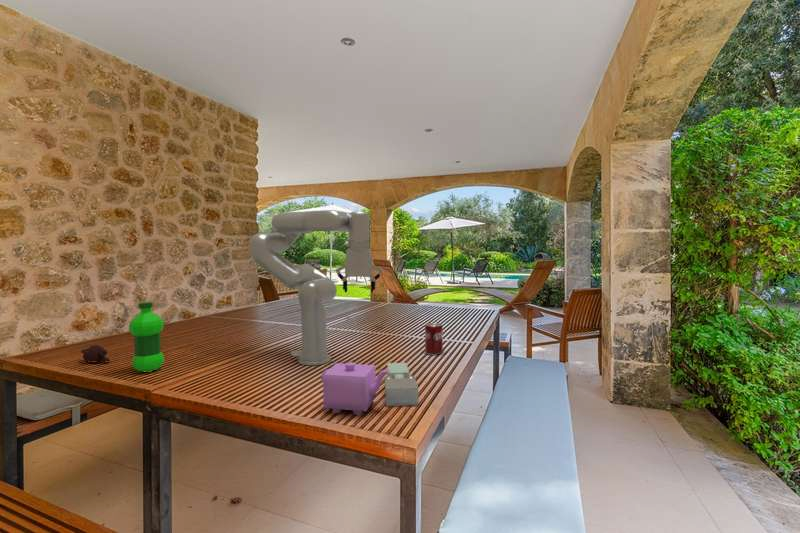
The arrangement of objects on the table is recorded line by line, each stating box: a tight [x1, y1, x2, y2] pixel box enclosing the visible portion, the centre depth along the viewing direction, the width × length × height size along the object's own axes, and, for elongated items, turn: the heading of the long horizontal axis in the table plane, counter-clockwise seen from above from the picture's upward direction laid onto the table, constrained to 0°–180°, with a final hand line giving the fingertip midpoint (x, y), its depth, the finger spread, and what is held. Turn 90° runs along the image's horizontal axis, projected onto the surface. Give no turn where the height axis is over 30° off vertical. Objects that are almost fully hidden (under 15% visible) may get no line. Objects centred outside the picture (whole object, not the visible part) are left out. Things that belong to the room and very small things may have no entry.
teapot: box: [320, 361, 390, 416], centre depth 107 cm, size 20×10×12 cm, turn 79°
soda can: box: [424, 322, 444, 356], centre depth 160 cm, size 7×7×12 cm
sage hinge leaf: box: [386, 362, 410, 379], centre depth 124 cm, size 6×14×5 cm, turn 4°
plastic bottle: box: [128, 301, 165, 372], centre depth 140 cm, size 10×10×25 cm
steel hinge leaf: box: [384, 374, 419, 407], centre depth 114 cm, size 9×12×5 cm
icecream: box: [80, 344, 110, 363], centre depth 152 cm, size 7×7×15 cm
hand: (359, 291), depth 142 cm, fingers open, 9 cm apart
